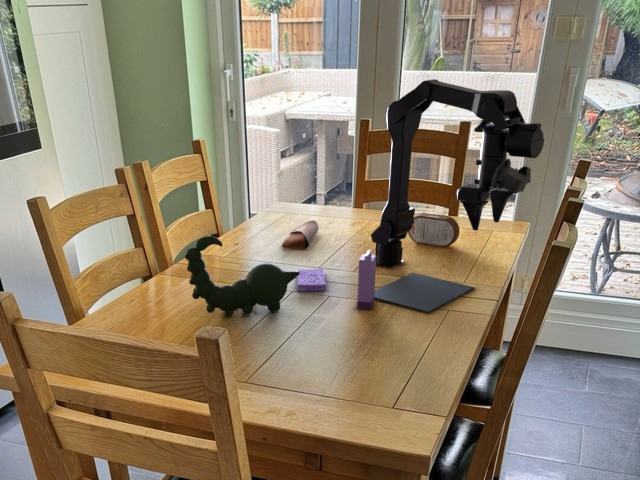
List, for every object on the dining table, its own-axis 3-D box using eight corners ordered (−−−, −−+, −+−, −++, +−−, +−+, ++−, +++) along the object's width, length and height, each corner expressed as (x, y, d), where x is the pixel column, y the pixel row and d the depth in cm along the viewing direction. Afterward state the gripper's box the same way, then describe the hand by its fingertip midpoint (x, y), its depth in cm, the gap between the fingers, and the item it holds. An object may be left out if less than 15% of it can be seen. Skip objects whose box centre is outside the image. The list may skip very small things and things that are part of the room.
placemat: (364, 296, 173) (364, 294, 173) (412, 274, 186) (413, 272, 186) (428, 313, 163) (428, 311, 163) (474, 289, 176) (475, 287, 176)
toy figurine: (196, 328, 164) (304, 315, 163) (180, 245, 153) (296, 230, 152) (198, 313, 171) (302, 300, 170) (183, 233, 161) (294, 219, 160)
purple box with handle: (360, 302, 170) (362, 249, 163) (374, 303, 170) (376, 250, 162) (357, 309, 167) (359, 255, 160) (370, 310, 166) (373, 256, 159)
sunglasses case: (291, 230, 222) (302, 211, 218) (310, 242, 223) (321, 224, 219) (280, 247, 207) (291, 227, 203) (300, 260, 208) (312, 240, 204)
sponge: (297, 291, 177) (297, 284, 176) (297, 275, 188) (297, 268, 187) (325, 291, 177) (325, 284, 176) (324, 275, 187) (324, 267, 186)
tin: (458, 247, 205) (461, 216, 200) (454, 249, 203) (457, 219, 198) (409, 240, 212) (411, 210, 207) (405, 242, 210) (407, 213, 205)
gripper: (504, 164, 150) (495, 239, 159) (547, 151, 161) (537, 222, 170) (458, 159, 157) (452, 232, 166) (503, 147, 168) (495, 216, 176)
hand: (485, 226), depth 169 cm, fingers open, 9 cm apart
